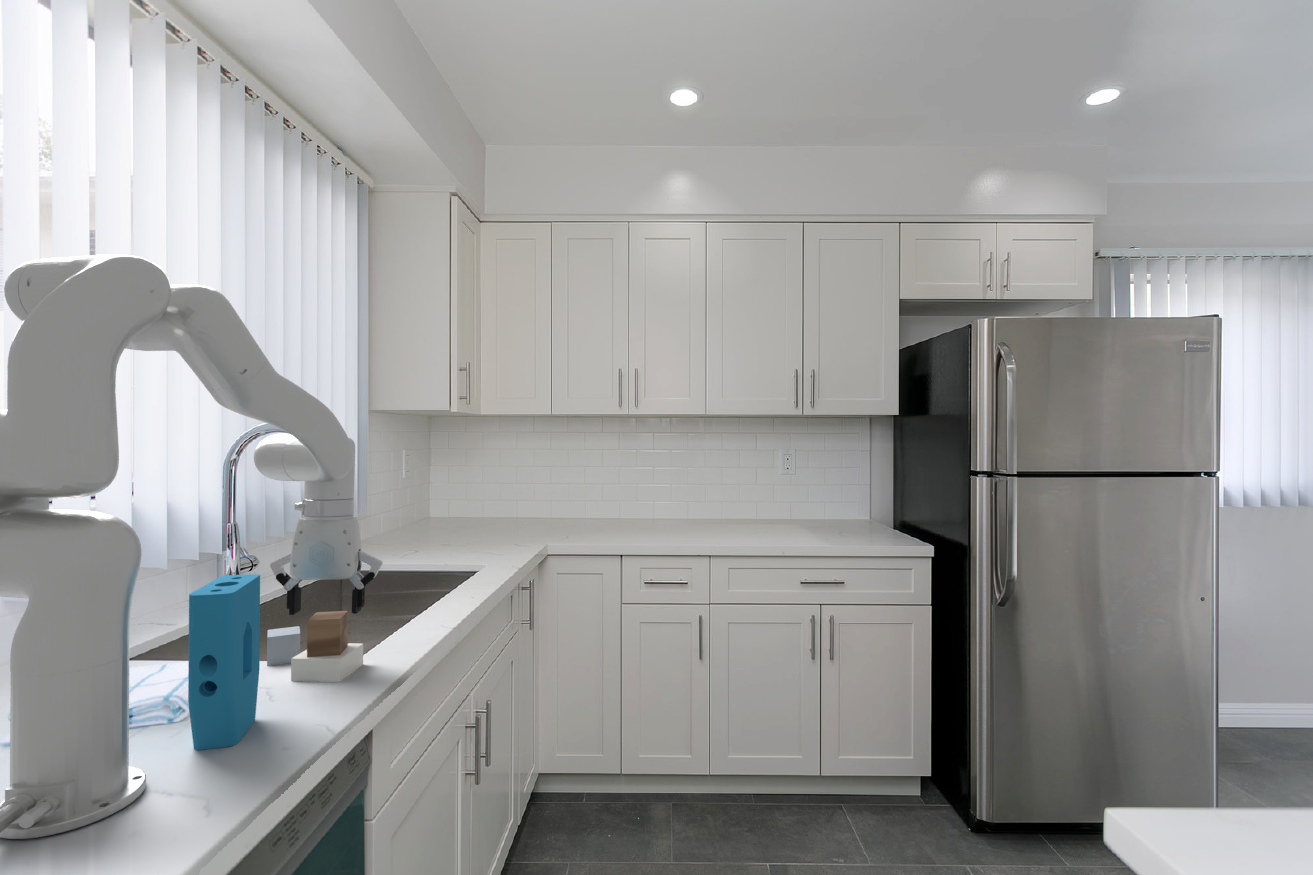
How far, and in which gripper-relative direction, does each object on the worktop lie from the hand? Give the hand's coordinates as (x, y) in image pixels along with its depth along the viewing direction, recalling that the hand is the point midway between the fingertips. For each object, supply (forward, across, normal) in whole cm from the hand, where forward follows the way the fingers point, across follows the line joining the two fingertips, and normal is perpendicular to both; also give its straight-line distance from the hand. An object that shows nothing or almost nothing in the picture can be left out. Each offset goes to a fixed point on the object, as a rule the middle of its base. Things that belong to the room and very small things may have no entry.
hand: (325, 612), depth 109 cm
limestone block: (+11, 0, +1) cm, 11 cm away
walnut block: (+7, 0, +1) cm, 7 cm away
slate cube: (+10, -10, +9) cm, 17 cm away
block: (+11, -6, -21) cm, 24 cm away
